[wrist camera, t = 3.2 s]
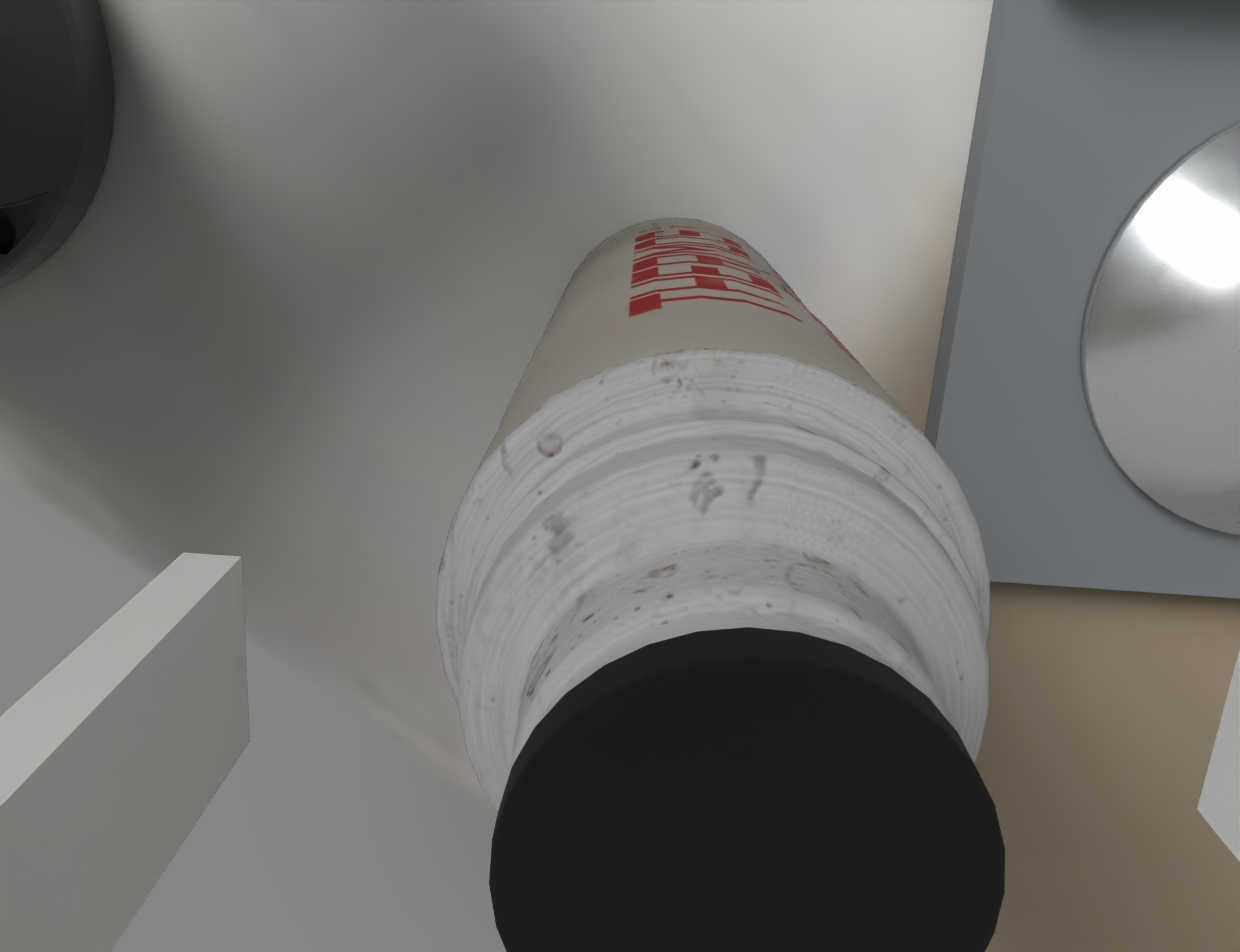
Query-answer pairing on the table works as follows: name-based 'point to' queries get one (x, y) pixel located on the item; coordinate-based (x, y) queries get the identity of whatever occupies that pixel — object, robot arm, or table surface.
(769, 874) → the thermos bottle
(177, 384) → the table surface
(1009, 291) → the rosette base
